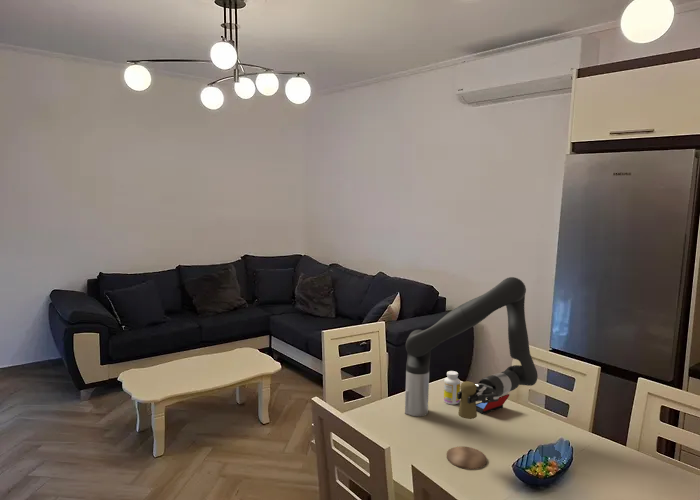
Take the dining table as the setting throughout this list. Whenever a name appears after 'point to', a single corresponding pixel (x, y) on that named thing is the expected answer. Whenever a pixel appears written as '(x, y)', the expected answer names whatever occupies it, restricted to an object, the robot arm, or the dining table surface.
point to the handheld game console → (491, 405)
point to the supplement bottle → (451, 388)
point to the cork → (466, 408)
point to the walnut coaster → (466, 457)
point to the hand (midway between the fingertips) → (463, 398)
